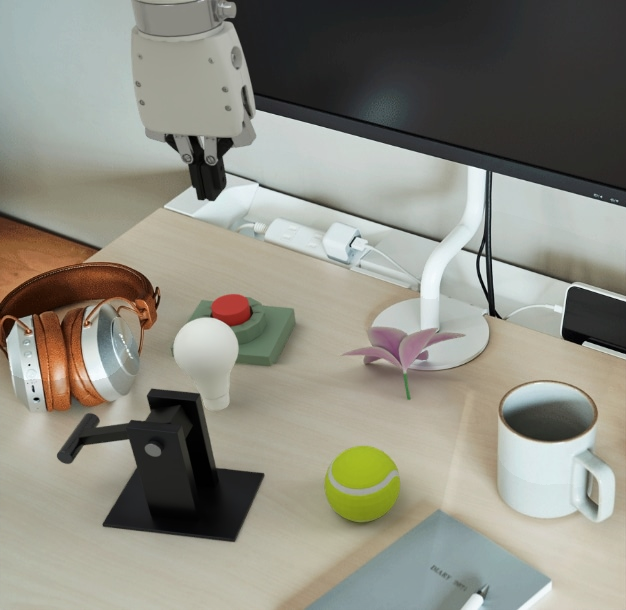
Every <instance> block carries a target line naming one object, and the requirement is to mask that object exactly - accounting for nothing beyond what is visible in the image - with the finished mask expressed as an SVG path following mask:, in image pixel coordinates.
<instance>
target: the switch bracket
mask: <svg viewBox="0 0 626 610" xmlns="http://www.w3.org/2000/svg"><path fill="white" fill-rule="evenodd" d="M146 399H147V403H148V406H149V411H150V412H151V411H152V409H156V408H163V407H170V406H177V405H181V406H182V408H183V410H184V411H185V413H186V415H187V416H188V418H189V420H190V421H191V423H192V425H193V426H192V428H191V430H190V432H189V433H188V435H187V437H186V439H185V437H184V433H183V429H182V425H176V424H167V423H157V422H148V421H145V420H136V419H130V420H129V422H128V423H129V424H128V425H127V427H126V430H127V434H128V437H129V444H130V448H131V452H132V455H133V458H134V462H135V465H136V468H135V469H134V471H133V472H132V473H131V476H130V478H129V479H128V481H127V482H126V484H125V485H124V487H123V489H122V491H121V492H120V494H119V496H118V497H117V499H116V501H115V502H114V503H113V506H112V507H111V508H110V511H109V512H108V514H107V515H106V518H105V519H104V520H103V522H102V524H101V525H102V527H103V528H111V529H119V530H128V531H135V532H145V533H154V534H161V535H171V536H179V537H187V538H197V539H204V540H211V541H212V540H213V541H221V542H229V543H236V541H237V538H238V536H239V533H240V531H241V529H242V527H243V524H244V523H245V520H246V518H247V515H248V514H249V511H250V509H251V507H252V504H253V503H254V500H255V498H256V495H257V494H258V491H259V488H260V487H261V485H262V482H263V480H264V477H265V473H264V472H259V471H258V472H257V471H251V470H249V471H248V470H242V469H241V470H240V469H230V468H221V467H217V466H216V461H215V456H214V451H213V447H212V441H211V437H210V432H209V428H208V423H207V419H206V418H207V417H206V413H205V409H204V404H203V399H202V396H201V395H200V393H199V392H190V391H181V390H171V389H162V388H150V389H149V391H148V393H147V394H146Z"/></svg>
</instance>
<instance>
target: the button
mask: <svg viewBox="0 0 626 610" xmlns="http://www.w3.org/2000/svg"><path fill="white" fill-rule="evenodd" d="M246 297H247V296H244V295H242V294H238V293H229V294H228V293H227V294H225V295H222V296H219V297H217V298H216V299H214V300H213V301H214V302H213V303H212V305H211V309H212V314H213V318H214V319H218V320H220V321H222V322H224V323H225V324H227V325H228V326H229V327H232V326H236V325H241V324H243V323H245V322H246V321H248V320H249V318H250V316H251V313H250V307H249V301H248V299H247V298H246Z"/></svg>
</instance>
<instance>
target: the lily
mask: <svg viewBox="0 0 626 610" xmlns="http://www.w3.org/2000/svg"><path fill="white" fill-rule="evenodd" d="M438 329H439V328H438V327H430V328H426V329H422V330H420V331H419V330H418V331H416V332H413V333H410V334H408V333H407V332H405V331H404V330H402V329H399V328H395V327H390V326H369V327H367V328H366V335H367V338H368V341H369V343H370V344H371V346H365V347H360V348H355V349H353V350H352V349H351V350H349V351H346V352H344V353H341V355H340V356H341V357H345V356H348V357H349V356H364V357H363V360H362V362H363V364H364V365H367V364H371V363H373V362H376V361H380V360H385V361H387V362H390V363H392V364H394V365H395V366H397V367H398V368H400V369H401V370H402V375H403V380H404V381H403V382H404V388H405V393H406V399H407V401H410V400H411V395H410V389H409V383H408V374H407V372H408V369H409V367H410V366H411V365H412V364H413V363H414V362H415V361H416V360H418V361H423V360H427V359H428V360H429V351H428V350H427V349H426V348H429V347H430V346H433V345H436V344H438V343H441V342H446V341H450V340H455V339H459V338H463V337H466V336H467V334H465V333H459V332H447V331H446V332H443V331H442V332H437V331H438ZM428 360H427V361H428Z"/></svg>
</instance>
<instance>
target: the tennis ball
mask: <svg viewBox="0 0 626 610" xmlns="http://www.w3.org/2000/svg"><path fill="white" fill-rule="evenodd" d="M400 490H401V479H400V471H399V469H398V467H397V465H396V463H395V462H394V460H393V459H392V457H391V456H390V455H388V453H386V452H384V450H382V449H379V448H377V447H375V446H371V445H356V446H352V447H349V448H348V449H347V448H346V449H345V450H343V451H342V452H340V453H339V454H338V455H337V456H336V457H335V458H334V459H333V460H332V461H331V463H330V464H329V466H328V468H327V471H326V474H325V477H324V492H325V497H326V500H327V502H328V504H329V505H330V507H331V509H332V510H333V511H334V512H335V513H336V514H338V515H339V516H340V517H342V518H344V519H346V520H348V521H351V522H355V523H368V522H372V521H375V520H378V519H379V518H381V517H383V516H385V514H387V513H388V512H389V511H390V510H391V509H392V508H393V506H394V505H395V504H396V502H397V501H398V497H399V495H400Z"/></svg>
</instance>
